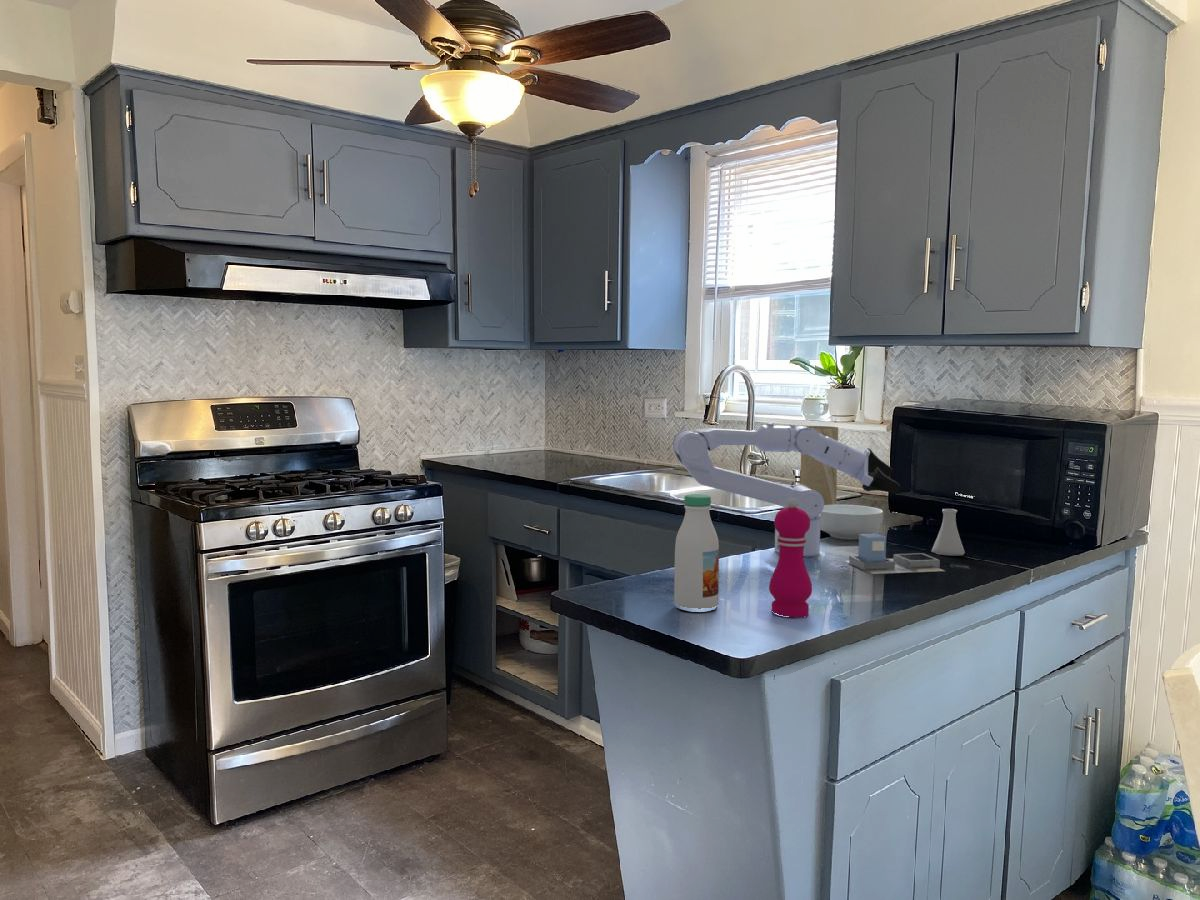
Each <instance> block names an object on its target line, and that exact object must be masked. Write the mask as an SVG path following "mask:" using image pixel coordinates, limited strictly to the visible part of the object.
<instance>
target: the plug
mask: <svg viewBox="0 0 1200 900" xmlns="http://www.w3.org/2000/svg"><path fill="white" fill-rule="evenodd" d="M886 552H887V536H884V535H882V534H880V533H876V532H874V533H871V534H859V539H858V553H857V554H858V555H857V556H858V559H860V560H862V561H864V562H885V559H886V556H887V555H886V554H887V553H886Z"/></svg>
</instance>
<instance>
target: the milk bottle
mask: <svg viewBox="0 0 1200 900" xmlns="http://www.w3.org/2000/svg"><path fill="white" fill-rule="evenodd" d="M683 499H684V500H683V501H684V502H683V503H684V506H683V507H684V509H685V513H684V517H683V520H682V523H681V525H680V527H679V529H678V532H677V535H676V537H675V545H674V580H673V581H674V584H673V586H674V589H673V590H674V595H673V597H674V598H673V601H674V602H675V603H676V604H677V605H679V606H682V607H687V608H698V609H701V608H712V607H715V606H717V605H718V606H719V587H720V585H719V580H720V577H719V576H720V573H719V571H720V548H719V547H720V545H719V537H718V535H717V532H716V529H715V526H714V525H713V521H712V518H711V515H710V509H711V504H712V498H711V495H708V494H703V493H692V494H691V493H690V494H685V495H684V498H683Z"/></svg>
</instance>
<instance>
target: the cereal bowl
mask: <svg viewBox="0 0 1200 900" xmlns="http://www.w3.org/2000/svg"><path fill="white" fill-rule="evenodd" d="M819 515H821V517H820V531H822V532H824V533H827V534H829V537H832V538H834V539H839V540H859V534H874V533H876V532H877V531H878V530H879V528H880V527H881V526H882V523H883V519H884V511H883V510H882V509H880V508H878V507H874V506H873V507H872V506H867V505H856V504H836V505H824V508H823V510H822V512H821V513H820V514H819Z"/></svg>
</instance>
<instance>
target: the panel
mask: <svg viewBox="0 0 1200 900" xmlns="http://www.w3.org/2000/svg"><path fill="white" fill-rule="evenodd" d="M845 562H846V563H848V564H849V565H851V566H853V567H856V569H860V570H861V571H864V572H867V573H869V574H871V575H879V574H881V575H882V574H885V575H886V574H902V573H903V574H904V573H905V574H906V573H925V572H927V573H929V572H930V573H931V572H946V570H944V569H942V568H940V565H941V563H940V562H941V559H938V558H936V557H933V556H931V555H928V554H926V553H924V552H921V553H920V552H919V553H916V552H915V553H914V552H913V553H895V554H894V553H893V558H886V559H885V562H864V561H862V560H860V559H858V555H848V560H845Z"/></svg>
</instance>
